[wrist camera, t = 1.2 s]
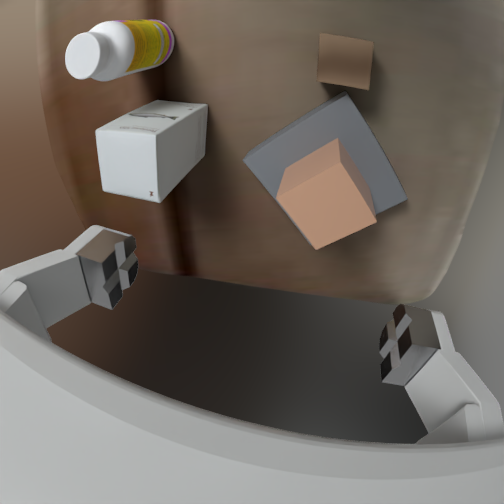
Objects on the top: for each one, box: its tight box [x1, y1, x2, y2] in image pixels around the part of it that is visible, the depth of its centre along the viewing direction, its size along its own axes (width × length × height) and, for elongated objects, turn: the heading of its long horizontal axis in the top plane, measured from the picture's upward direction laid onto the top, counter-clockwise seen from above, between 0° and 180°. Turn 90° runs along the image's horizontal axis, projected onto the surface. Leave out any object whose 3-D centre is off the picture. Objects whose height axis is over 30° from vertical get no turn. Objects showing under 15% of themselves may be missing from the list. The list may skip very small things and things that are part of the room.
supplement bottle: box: [65, 20, 174, 81], centre depth 23 cm, size 7×7×13 cm
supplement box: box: [96, 100, 208, 203], centre depth 31 cm, size 7×7×13 cm
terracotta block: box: [276, 138, 377, 250], centre depth 30 cm, size 7×7×7 cm
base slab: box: [243, 90, 407, 245], centre depth 33 cm, size 14×14×3 cm
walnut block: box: [317, 33, 374, 90], centre depth 24 cm, size 5×5×5 cm
